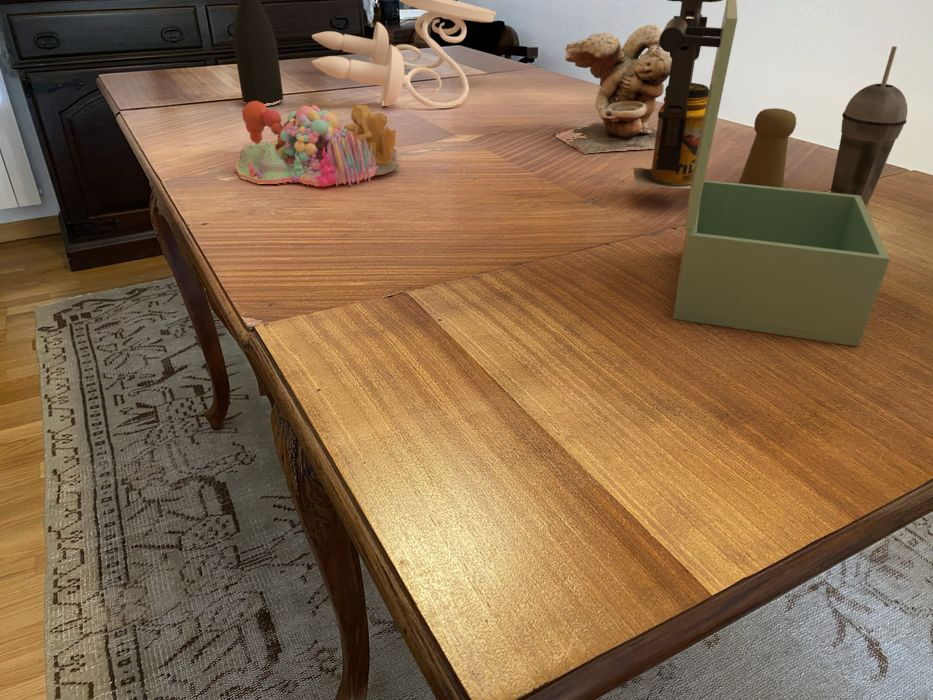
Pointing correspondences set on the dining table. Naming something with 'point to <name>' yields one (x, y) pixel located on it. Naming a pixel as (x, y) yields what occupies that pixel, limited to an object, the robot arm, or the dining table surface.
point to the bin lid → (723, 40)
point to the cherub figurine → (622, 87)
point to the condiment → (689, 145)
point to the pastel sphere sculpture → (316, 146)
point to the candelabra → (389, 60)
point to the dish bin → (781, 262)
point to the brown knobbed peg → (769, 148)
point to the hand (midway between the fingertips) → (669, 161)
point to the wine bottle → (256, 54)
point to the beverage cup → (868, 136)
